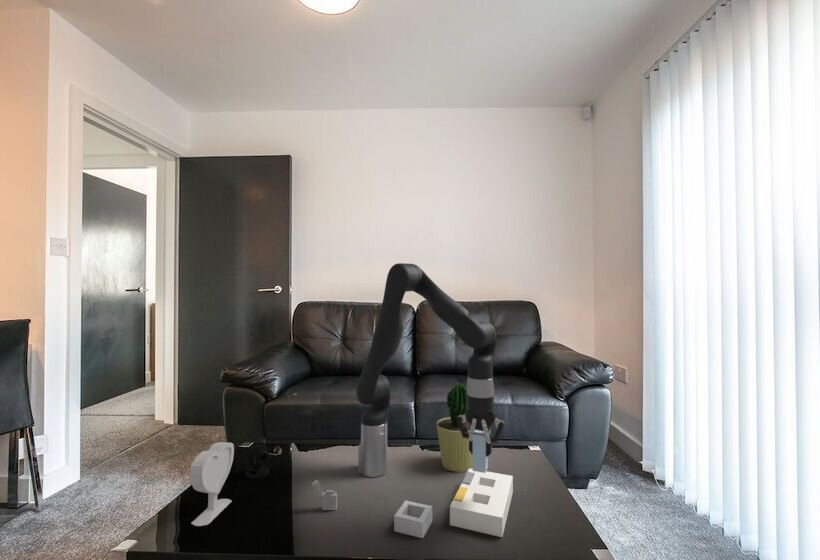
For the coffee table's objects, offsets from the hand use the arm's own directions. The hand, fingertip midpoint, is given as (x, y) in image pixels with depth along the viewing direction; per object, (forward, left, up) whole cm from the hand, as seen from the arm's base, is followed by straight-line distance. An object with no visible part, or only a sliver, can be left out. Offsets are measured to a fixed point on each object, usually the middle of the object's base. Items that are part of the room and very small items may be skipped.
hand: (480, 454), depth 109 cm
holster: (-16, -11, -17) cm, 26 cm away
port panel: (0, +5, -17) cm, 18 cm away
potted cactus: (-14, +29, -18) cm, 37 cm away
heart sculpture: (-72, -26, -18) cm, 79 cm away
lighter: (-43, -13, -18) cm, 48 cm away
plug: (0, 0, -4) cm, 4 cm away
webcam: (-76, -4, -18) cm, 78 cm away
